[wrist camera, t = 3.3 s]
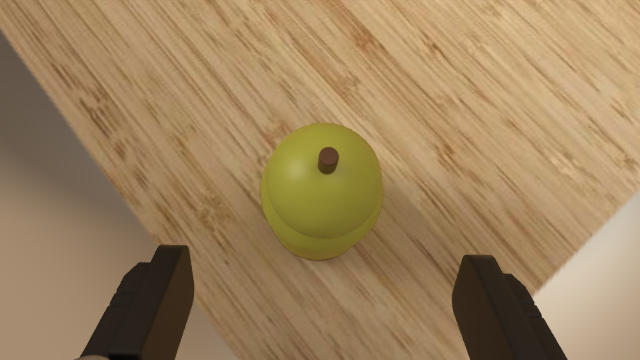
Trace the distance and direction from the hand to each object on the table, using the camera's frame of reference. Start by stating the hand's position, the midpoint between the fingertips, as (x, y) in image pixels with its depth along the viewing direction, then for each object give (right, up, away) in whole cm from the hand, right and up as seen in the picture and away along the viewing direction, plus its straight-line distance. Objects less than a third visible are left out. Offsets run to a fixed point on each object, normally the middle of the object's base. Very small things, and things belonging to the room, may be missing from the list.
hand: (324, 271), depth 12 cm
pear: (0, +1, +10) cm, 10 cm away
